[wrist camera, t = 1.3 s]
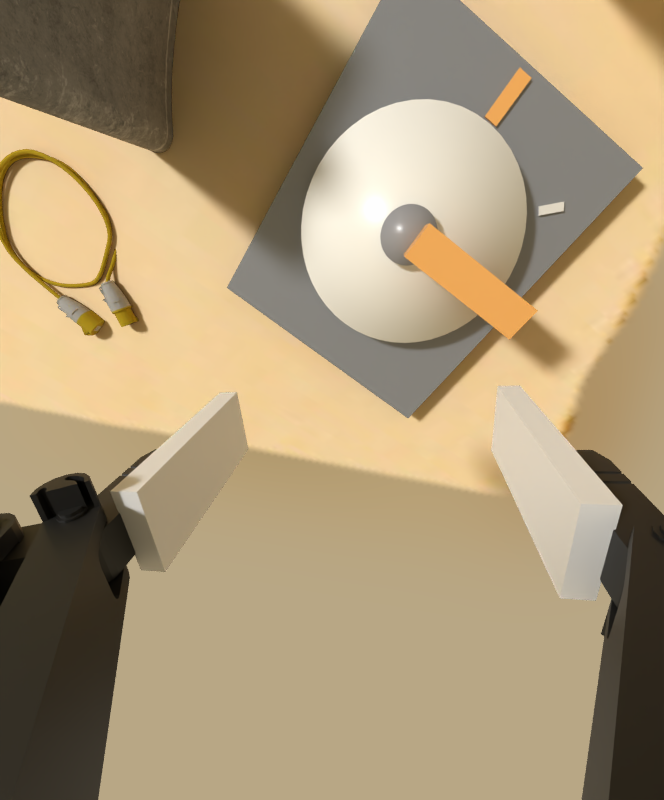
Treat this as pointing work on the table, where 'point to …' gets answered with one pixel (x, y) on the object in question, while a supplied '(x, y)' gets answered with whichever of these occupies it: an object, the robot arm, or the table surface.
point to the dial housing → (497, 104)
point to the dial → (417, 224)
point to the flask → (93, 64)
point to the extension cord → (69, 306)
